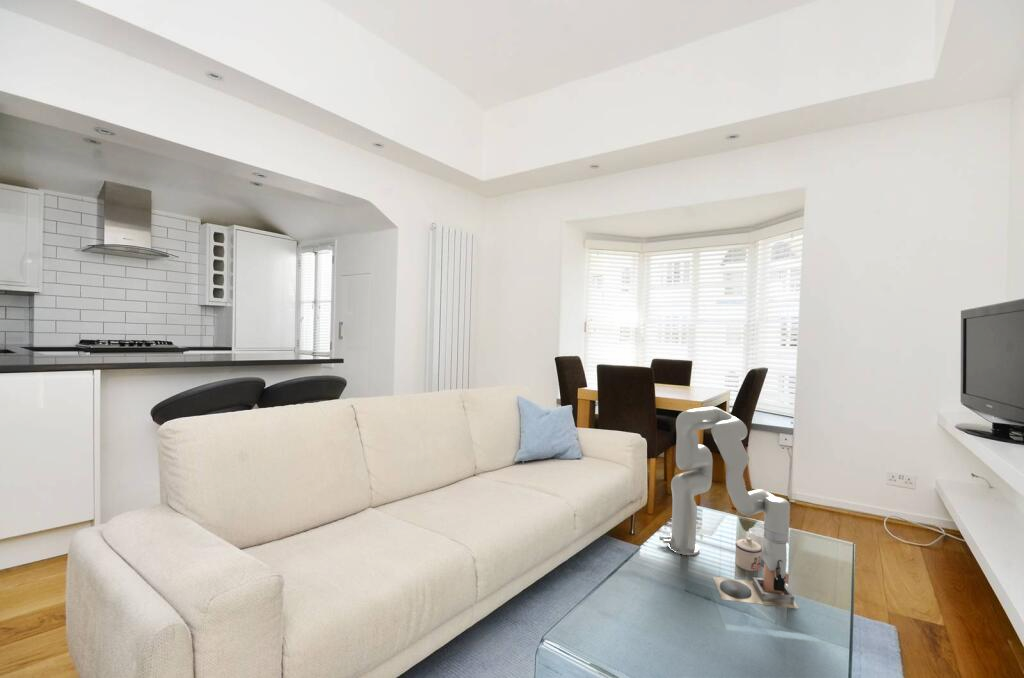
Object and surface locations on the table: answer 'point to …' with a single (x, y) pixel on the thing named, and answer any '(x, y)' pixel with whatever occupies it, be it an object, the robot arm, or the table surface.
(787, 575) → the peach rounded peg
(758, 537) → the white cup
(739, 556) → the teacup with lid
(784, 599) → the board
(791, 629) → the table surface
